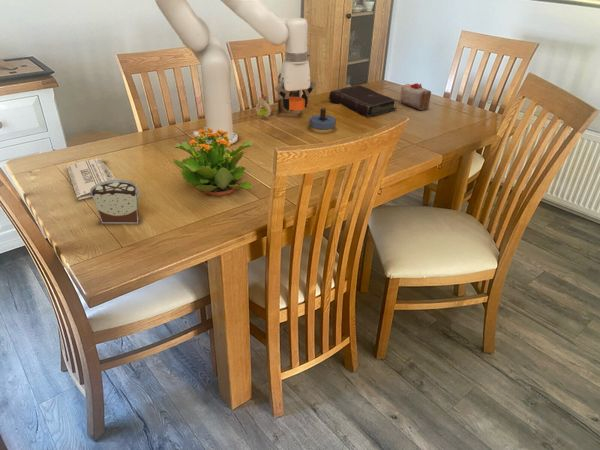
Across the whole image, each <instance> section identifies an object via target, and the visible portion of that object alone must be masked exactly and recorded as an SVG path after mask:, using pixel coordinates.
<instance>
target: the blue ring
mask: <svg viewBox="0 0 600 450" xmlns="http://www.w3.org/2000/svg"><path fill="white" fill-rule="evenodd" d="M336 123H337V118H335V117H334V116H332V115H329V114H325V121H321V120H320V114H316V115H315V114H314V115H312V116H310V118H309V120H308V126H309V127H310V126H311V127H310V128H312V127H313V128H312V129H314V128H315V129H314V130H319V129H321V130H320V131H322V130H323V131H327V130H326V129H329V130H332V129H334V128H335V127H336V125H337V124H336ZM334 126H335V127H334ZM333 127H334V128H333Z"/></svg>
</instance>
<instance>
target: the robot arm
mask: <svg viewBox="0 0 600 450" xmlns="http://www.w3.org/2000/svg"><path fill="white" fill-rule="evenodd" d="M154 1H155V3H156V5H157V7H158V10H160V13H161V14H162V15H163V16H164V18H165V19H166V21H167V22H168V23H169V25H170V26H171V28H172V30H174V32H175V33H176V35H177V36H178V37H179V40H180V41H181V42H182V44H183V45H184V46H185V47H186V48H187V49H188V50H190V51H191V52H192V53H193V55H194V57H196V59H197V60H198V61H199V63H200V71H201V81H202V94H203V105H204V116H205V117H204V118H205V126H203V130H207V131H208V128H210V129H212V130H213V132H212V133H217V130H221V131H222V130H223V132H224V131H225V132H226V131H227V132H228V134H227V135H228V138H229V143H230V145H232V144H234V143H236V142H237V141H238V140H239V137H238V134H237V133H235V132H234V122H233V120H234V119H233V103H232V102H233V101H232V80H231V79H232V67H231V62H230V59H229V57H228V54H227V52H226V51H225V49H224V47H223V46H222V44H221V43H220V42H219V40H218V39H217V38H216V37H217V36H215V34H214V33H213V31H212V30H211V29H210V27H209V26H208V24H207V23H206V22H205V20H204V19H202V18H201V17H200V16H198V15H197V14H196V12H195V11H194V9H193V8H192V6H191V4H190V3H189V2H188V1H187V0H154ZM220 2H222V3H223V4H224V5H225V6H226V7H227V8H228V9H229V10H231V11H232V12H233V13H234V14H235V15H236V16H237V17H238V18H240V19H241V20H243V21H244V22H246V24H247V25H249V26H250V27H251V28H252V29H253V30H254V31H255V32H256V33H258V34H259V35H260V36H261V37H263V39H264V40H265V41H267V42H268V43H269V44H270V45H272V46H274V47H280V46H282V45H284V60H283V61H282V63H281V69H280V73H281V78H280V83H279V84H278V83H277V84H276V86H274V90H275V91H276V93H277V94H278V93H279V94H280V95H281V96H282V97H283V107H284V108H285V109H286V110H289V99H288V96H289V94H290V91H297V90H301V97H302V98H303V99H305V108H307V107H308V104H309V102H308V101H309V97H310V94H311V93H312V91H313V90H314V89H315V87H316V86H317V83H316V82H315V81H313V80H312V79H311V69H310V63H309V60H308V57H311V52H308V32H309V31H308V30H309V29H308V27H309V26H308V25H309V24H308V20H307V19H306V18H303V17H289V18H287V17H279V16H276V14H274V13H273V12H272V10H270V9H269V8H268V7H267V6H266V5H265V4H264V3H263V2H262V1H261V0H220ZM281 88H283V89H284V91H283V92H282V91H281ZM206 133H207V132H206ZM192 135H193V137H194V138H198V135H199V130H196V131H193V132H192ZM199 136H200V135H199ZM206 136H207V135H205V139H206ZM220 138H221V137H219V139H220ZM221 139H222V138H221ZM207 140H208V139H206V141H207ZM213 140H214V139H213ZM222 140H224V138H223V139H222ZM209 142H210V140H209ZM209 142H206V145H209V144H211V142H212V140H211V142H210V143H209Z"/></svg>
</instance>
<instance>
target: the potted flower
mask: <svg viewBox="0 0 600 450" xmlns="http://www.w3.org/2000/svg"><path fill="white" fill-rule="evenodd" d="M198 131H199V135H200V136H199V135H198V137H196V139H191V140H189V143H188V142H186V141H183V142H182V143H176V144H175V145H174V146H173V148H175V149H180V150H183V151H185V152H187V153H188V154H190V155H189V158H188V157H185V158H183V159H182V160H181V161H179V160H178V159H174V158H173V159H172V161H173V163H174V164H175V165H176V166H177V167H179V168H181V175H182V179H183V180H184V181H185V182H186V183H188V184H189V185H193V186H195V187H194V189H196V190H198V191H200V192H201V191H202V192H205V193H206V194H208V195H210V196H217V197H219V196H227V195H229V194H231V193H233V192H234V191H235V190H236V189H245V190H246V189H248V190H249V189H253V188H254V187H253V184H252V183H251V182H250V183H249V182H248V181H247V180H245V181H243V182H241V183H240V184H237V182H236V181H237V180H239V179H241V178H242V177H243V176H244V174H245V170H246V167H245V166H241V165H239V166H238V165H237V164H238V163H239V161H240V160H241V159H242V157H243V154H244V153H245V151H243V150H244V149H246V148H251V147H253V145H254V143H253V142H252V141H249V140H247V141H244V142H243V143H242V144H241V145H240V146H239V147H238V148H236V149H232V150H231V151H230V149H227V148H229V147H230V146H231V144H230V143H229V138H228V135H227V134H228V132H227V131H226V132H225V131H224V132H223V130H222V131H221V130H217V133H212V132H213V130H212V129H210V128H208V131H207V130H204V129H199V130H198ZM206 132H207V133H206ZM205 135H207V136H206V139H208V140H207V141H206V139H205ZM219 137H221V138H222V139H223V138H224V140H222V139H221V138H220V139H219ZM213 139H214V140H213ZM209 140H210V142H211V140H212V142H211V144H206V142H209ZM210 142H209V143H210ZM196 147H198V150H196Z"/></svg>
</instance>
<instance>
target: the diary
mask: <svg viewBox="0 0 600 450" xmlns="http://www.w3.org/2000/svg"><path fill="white" fill-rule="evenodd" d="M328 98H329V101H330V102H332V103H335V104H338V105H341V106H344V107H345V108H347V109H349V110H351V111H353V112H356V113H359V114H360V115H363V116H365V117H367V118H369V117H373V116H377V115H381V114H386V113H389V112H393V111H395V110H397V108H398V107H395V102H399V100H397V99H395V98H393V97H390V96H387V95H384V94H381V93H379V92H377V91H375V90H373V89H371V88H369V87H365V86H363V85H361V84H357V85H353V86H347V87H342V88H339V89H335V90H330V91H329V96H328Z"/></svg>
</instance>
